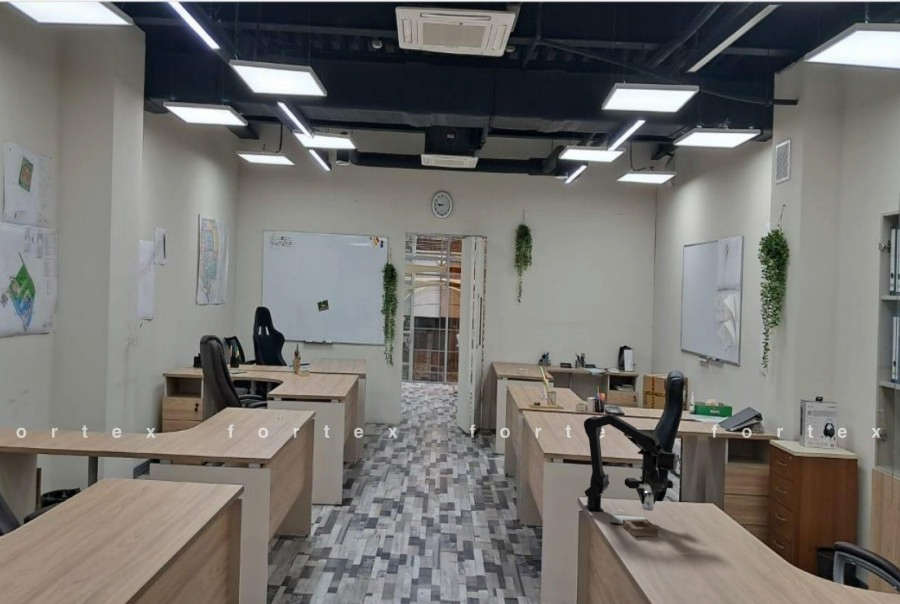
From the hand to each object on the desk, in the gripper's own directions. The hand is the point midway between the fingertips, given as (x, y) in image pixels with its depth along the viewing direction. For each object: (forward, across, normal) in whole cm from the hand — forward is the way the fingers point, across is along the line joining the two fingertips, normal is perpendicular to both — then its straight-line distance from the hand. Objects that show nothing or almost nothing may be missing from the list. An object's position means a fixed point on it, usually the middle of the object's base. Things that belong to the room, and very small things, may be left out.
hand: (647, 503), depth 259 cm
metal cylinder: (+2, 0, 0) cm, 2 cm away
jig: (+7, -8, -11) cm, 15 cm away
